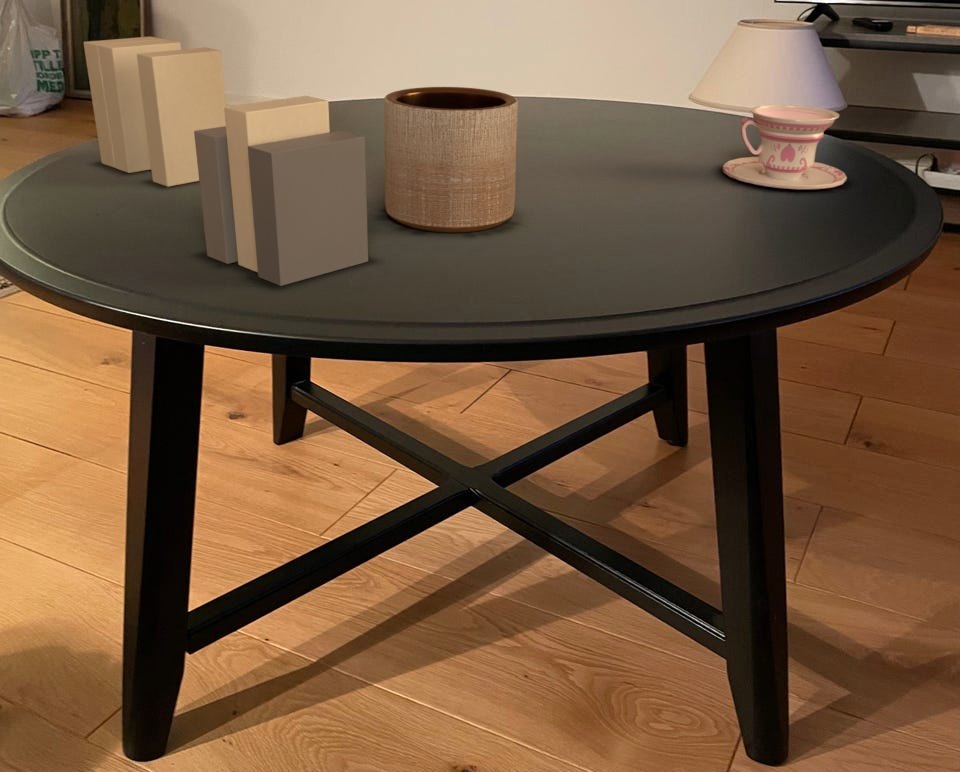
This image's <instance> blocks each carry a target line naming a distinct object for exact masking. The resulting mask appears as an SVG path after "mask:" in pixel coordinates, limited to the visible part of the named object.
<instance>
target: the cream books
mask: <svg viewBox="0 0 960 772" xmlns="http://www.w3.org/2000/svg"><path fill="white" fill-rule="evenodd" d="M83 48H84V55H85V61H86V68H87V75H88V83H89V88H90V95H91V101H92V108H93V114H94V120H95V127H96V135H97V140H98V147H99V154H100V160H101V164H103V165H105V166H107V167H111V168H113V169H116V170H119V171H122V172H124V173H128V174H133V173H138V172H144V171H149V170H150V171H151V177H152V182H153V183H156V184H158V185H161V186H164V187H167V188H169V187H173V186H180V185H185V184H190V183H195V182H199V174H198V164H197V155H196V145H195V136H194V131H197V130H203V129H210V128H216V127H223V126H226V123H225V112H224V107H227V99H226V89H225V80H224V79H225V77H224V67H223V66H224V65H223V55H222V50H220V49H217V48H216V49H215V48H210V47H205V46H204V47H196V48H195V47H194V48H184V49H182V46H181V42H180V41H175V40H170V39H164V38H160V37H156V36H140V37H127V38H116V39H104V40H89V41H83Z"/></svg>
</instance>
